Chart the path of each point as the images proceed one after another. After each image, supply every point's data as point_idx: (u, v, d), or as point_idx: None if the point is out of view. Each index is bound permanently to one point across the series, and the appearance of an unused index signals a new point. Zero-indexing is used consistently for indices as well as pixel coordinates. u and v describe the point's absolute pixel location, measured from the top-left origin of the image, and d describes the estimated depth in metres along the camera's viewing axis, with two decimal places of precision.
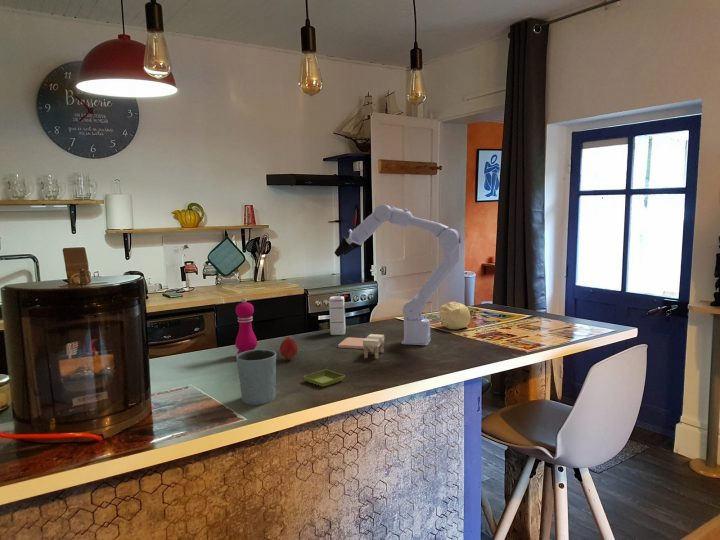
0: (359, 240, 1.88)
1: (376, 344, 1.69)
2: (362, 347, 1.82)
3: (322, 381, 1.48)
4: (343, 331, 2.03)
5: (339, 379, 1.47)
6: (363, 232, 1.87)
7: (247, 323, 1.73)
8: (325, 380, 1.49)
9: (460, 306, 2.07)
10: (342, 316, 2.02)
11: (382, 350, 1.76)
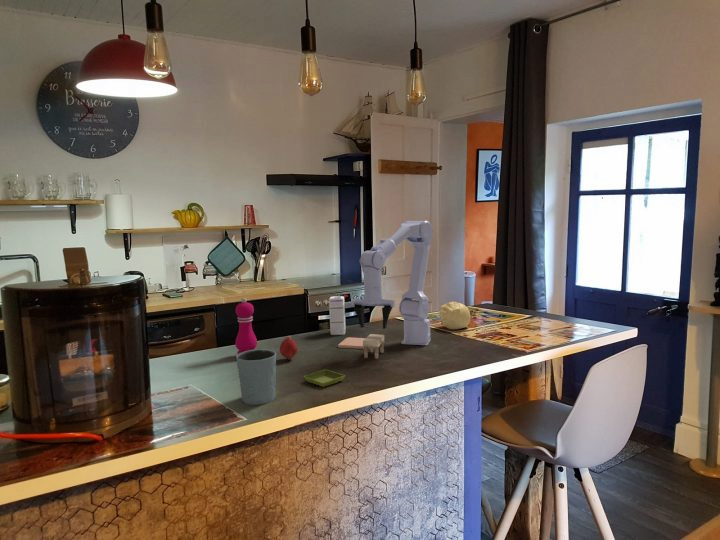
0: None
1: (376, 344, 1.69)
2: (362, 347, 1.82)
3: (322, 381, 1.48)
4: (343, 331, 2.03)
5: (339, 379, 1.47)
6: None
7: (247, 323, 1.73)
8: (325, 380, 1.49)
9: (460, 306, 2.07)
10: (342, 316, 2.02)
11: (382, 350, 1.76)
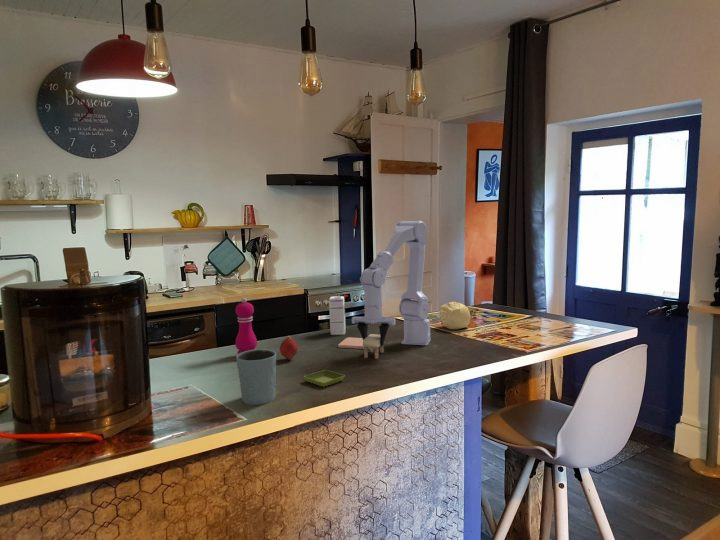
0: None
1: (376, 344, 1.69)
2: (362, 347, 1.82)
3: (322, 381, 1.48)
4: (343, 331, 2.03)
5: (339, 379, 1.47)
6: (381, 306, 1.72)
7: (247, 323, 1.73)
8: (325, 380, 1.49)
9: (460, 306, 2.07)
10: (342, 316, 2.02)
11: (382, 350, 1.76)
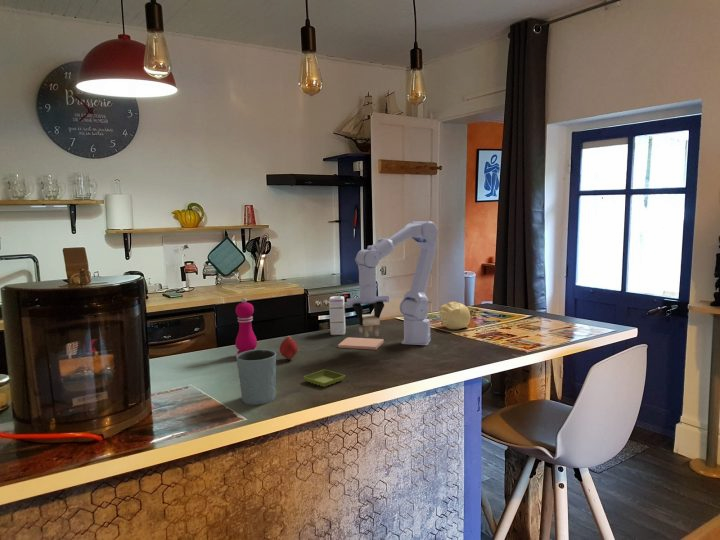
0: None
1: (378, 322, 1.74)
2: (362, 347, 1.82)
3: (322, 381, 1.48)
4: (343, 331, 2.03)
5: (339, 379, 1.47)
6: None
7: (247, 323, 1.73)
8: (325, 380, 1.49)
9: (460, 306, 2.07)
10: (342, 316, 2.02)
11: (371, 329, 1.82)
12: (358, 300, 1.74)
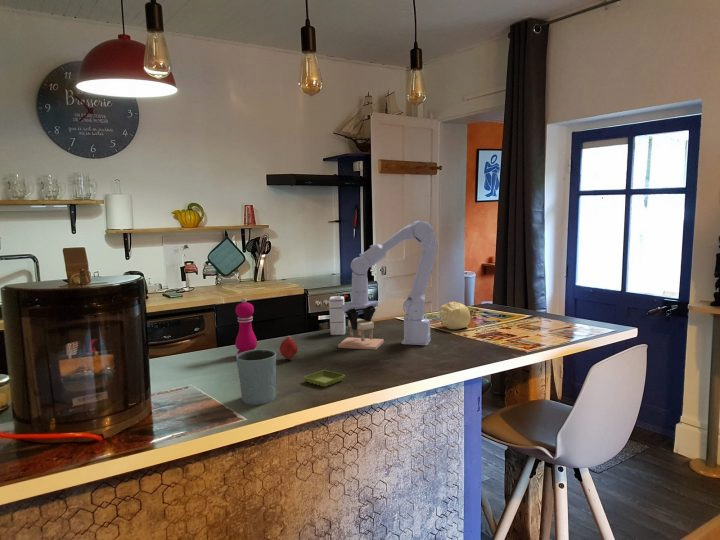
0: None
1: (373, 325, 1.84)
2: (362, 347, 1.82)
3: (322, 381, 1.48)
4: (343, 331, 2.03)
5: (339, 378, 1.48)
6: None
7: (247, 323, 1.73)
8: (325, 380, 1.49)
9: (460, 306, 2.07)
10: (342, 316, 2.02)
11: (360, 333, 1.91)
12: (354, 306, 1.82)
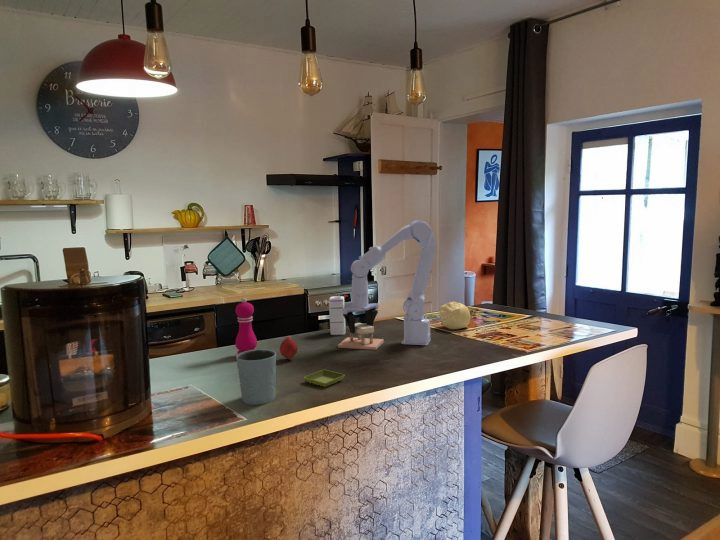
0: None
1: (373, 330, 1.85)
2: (362, 347, 1.82)
3: (322, 381, 1.48)
4: (343, 331, 2.03)
5: (340, 378, 1.48)
6: None
7: (247, 323, 1.73)
8: (325, 380, 1.49)
9: (460, 306, 2.07)
10: (342, 316, 2.02)
11: (361, 337, 1.91)
12: (354, 309, 1.83)
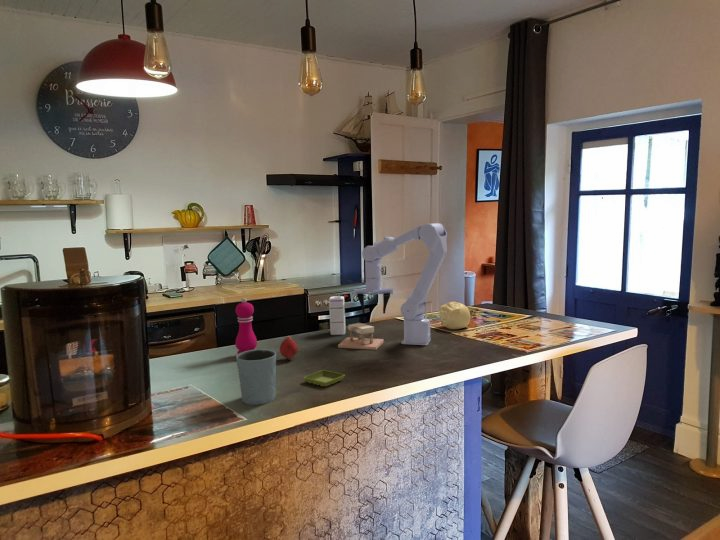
0: None
1: (373, 330, 1.85)
2: (362, 347, 1.82)
3: (322, 381, 1.48)
4: (343, 331, 2.03)
5: (340, 378, 1.48)
6: None
7: (247, 323, 1.73)
8: (325, 380, 1.49)
9: (460, 306, 2.07)
10: (342, 316, 2.02)
11: (361, 337, 1.91)
12: (363, 291, 1.94)
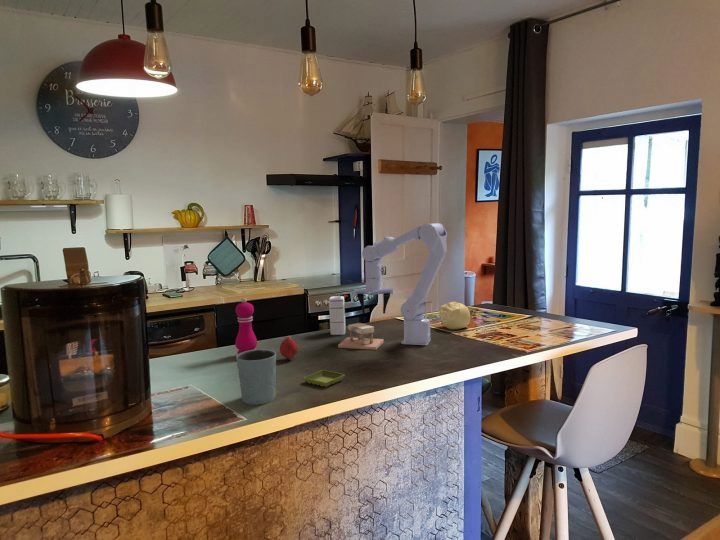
0: None
1: (373, 330, 1.85)
2: (362, 347, 1.82)
3: (322, 381, 1.48)
4: (343, 331, 2.03)
5: (340, 378, 1.48)
6: None
7: (247, 323, 1.73)
8: (325, 380, 1.49)
9: (460, 306, 2.07)
10: (342, 316, 2.02)
11: (361, 337, 1.91)
12: (363, 291, 1.94)
